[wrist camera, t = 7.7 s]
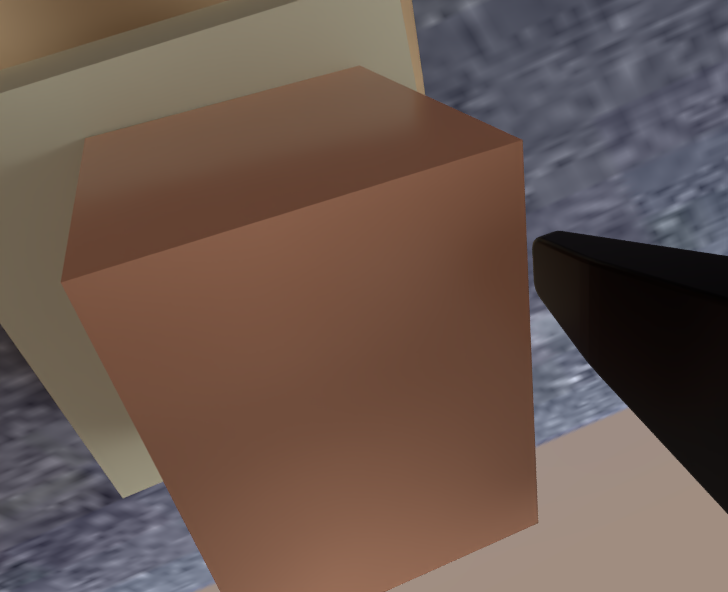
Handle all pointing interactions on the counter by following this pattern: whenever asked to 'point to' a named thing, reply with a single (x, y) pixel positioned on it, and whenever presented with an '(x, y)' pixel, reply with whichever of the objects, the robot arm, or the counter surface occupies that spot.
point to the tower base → (109, 25)
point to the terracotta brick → (317, 327)
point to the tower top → (124, 109)
